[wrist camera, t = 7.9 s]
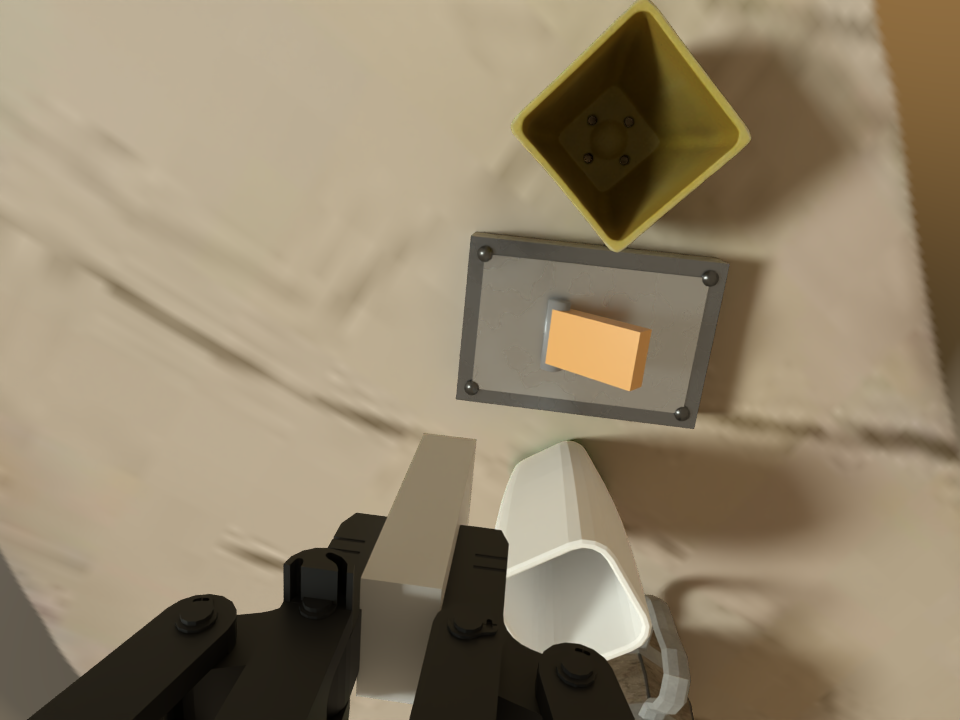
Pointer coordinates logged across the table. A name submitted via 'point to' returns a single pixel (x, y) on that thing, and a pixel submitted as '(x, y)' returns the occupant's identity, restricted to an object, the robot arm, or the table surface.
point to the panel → (596, 290)
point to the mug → (656, 670)
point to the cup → (569, 558)
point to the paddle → (594, 346)
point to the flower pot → (648, 142)
